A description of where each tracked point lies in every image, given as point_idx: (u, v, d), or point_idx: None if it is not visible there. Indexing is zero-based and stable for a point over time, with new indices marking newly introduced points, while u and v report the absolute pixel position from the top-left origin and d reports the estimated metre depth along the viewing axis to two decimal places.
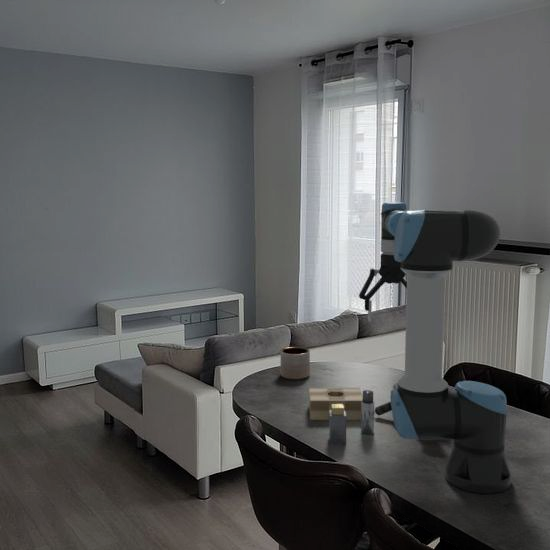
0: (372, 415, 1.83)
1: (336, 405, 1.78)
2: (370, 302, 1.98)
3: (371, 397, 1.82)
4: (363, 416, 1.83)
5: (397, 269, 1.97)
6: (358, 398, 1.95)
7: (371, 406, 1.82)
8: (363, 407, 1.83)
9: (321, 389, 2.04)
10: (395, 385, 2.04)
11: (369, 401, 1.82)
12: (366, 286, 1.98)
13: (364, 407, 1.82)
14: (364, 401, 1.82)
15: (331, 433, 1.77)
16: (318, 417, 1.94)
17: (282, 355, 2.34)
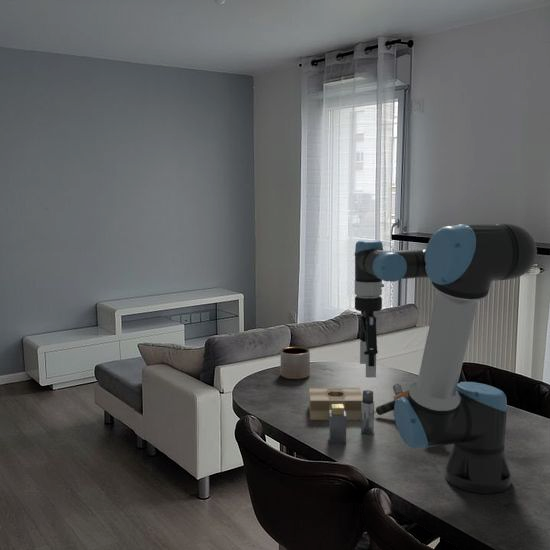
0: (372, 415, 1.83)
1: (336, 405, 1.78)
2: (360, 343, 1.88)
3: (371, 397, 1.82)
4: (363, 416, 1.83)
5: (364, 314, 1.79)
6: (358, 398, 1.95)
7: (371, 406, 1.82)
8: (363, 407, 1.83)
9: (321, 389, 2.04)
10: (395, 385, 2.05)
11: (369, 401, 1.82)
12: (360, 325, 1.89)
13: (364, 407, 1.82)
14: (364, 401, 1.82)
15: (331, 433, 1.77)
16: (318, 417, 1.94)
17: (282, 355, 2.34)
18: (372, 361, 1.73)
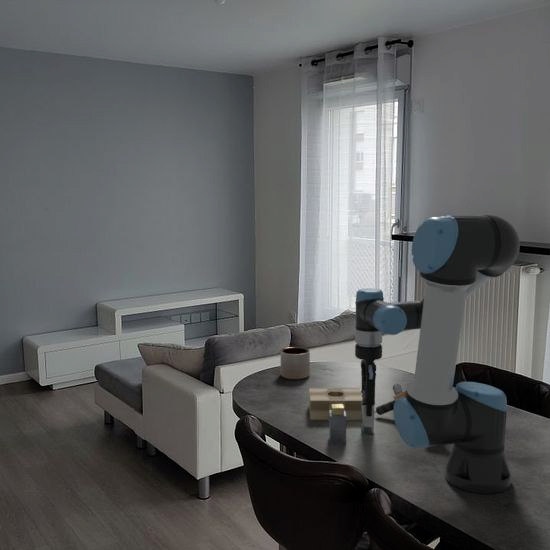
0: None
1: (336, 405, 1.78)
2: None
3: None
4: (363, 416, 1.83)
5: (365, 359, 1.80)
6: (358, 398, 1.95)
7: None
8: (363, 407, 1.83)
9: (321, 389, 2.04)
10: (395, 385, 2.05)
11: None
12: None
13: None
14: (364, 401, 1.83)
15: (331, 433, 1.77)
16: (318, 417, 1.94)
17: (282, 355, 2.34)
18: (370, 411, 1.80)
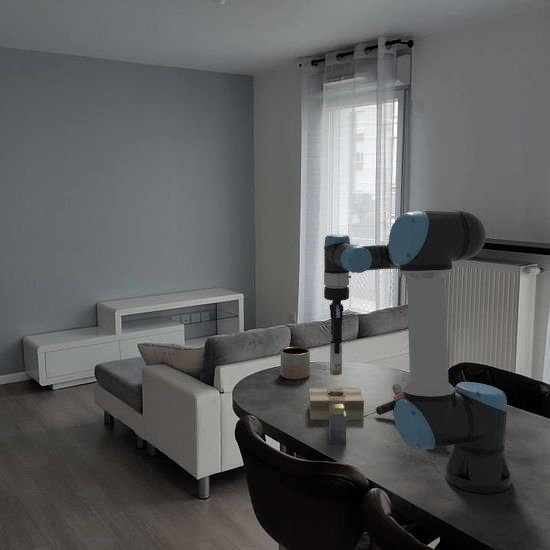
0: None
1: (336, 405, 1.78)
2: None
3: None
4: None
5: (333, 300, 1.93)
6: (358, 398, 1.95)
7: None
8: None
9: (321, 389, 2.04)
10: (395, 385, 2.05)
11: None
12: (331, 321, 2.01)
13: None
14: None
15: (331, 433, 1.77)
16: (318, 417, 1.94)
17: (282, 355, 2.34)
18: (337, 349, 1.94)
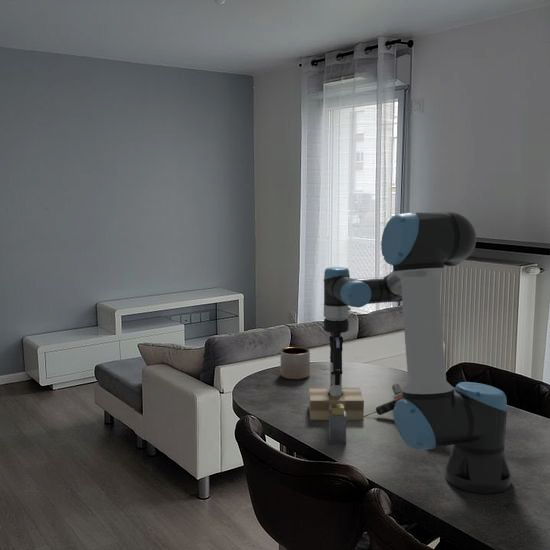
0: None
1: (336, 405, 1.78)
2: (330, 365, 2.03)
3: None
4: None
5: None
6: (358, 398, 1.95)
7: None
8: (331, 389, 1.98)
9: (321, 389, 2.04)
10: (394, 385, 2.05)
11: None
12: (330, 347, 2.05)
13: None
14: None
15: (331, 433, 1.77)
16: (318, 417, 1.94)
17: (282, 355, 2.34)
18: (338, 380, 1.92)
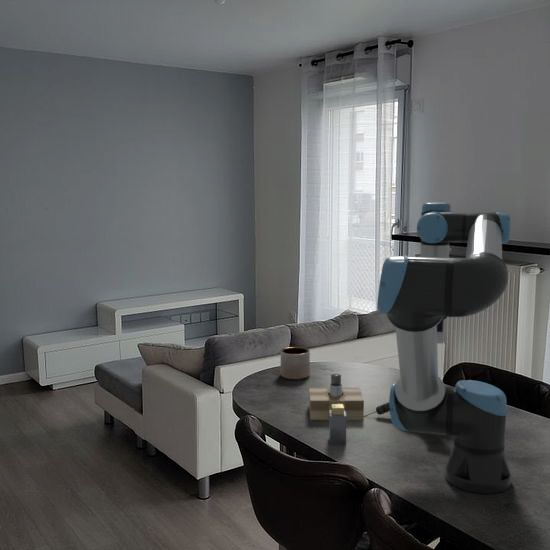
0: None
1: (336, 405, 1.78)
2: None
3: (339, 380, 1.98)
4: None
5: None
6: (358, 398, 1.95)
7: (339, 388, 1.98)
8: (331, 389, 1.98)
9: (321, 389, 2.04)
10: None
11: (337, 384, 1.97)
12: None
13: (332, 389, 1.98)
14: (332, 384, 1.98)
15: (331, 433, 1.77)
16: (318, 417, 1.94)
17: (282, 355, 2.34)
18: (440, 326, 1.68)
